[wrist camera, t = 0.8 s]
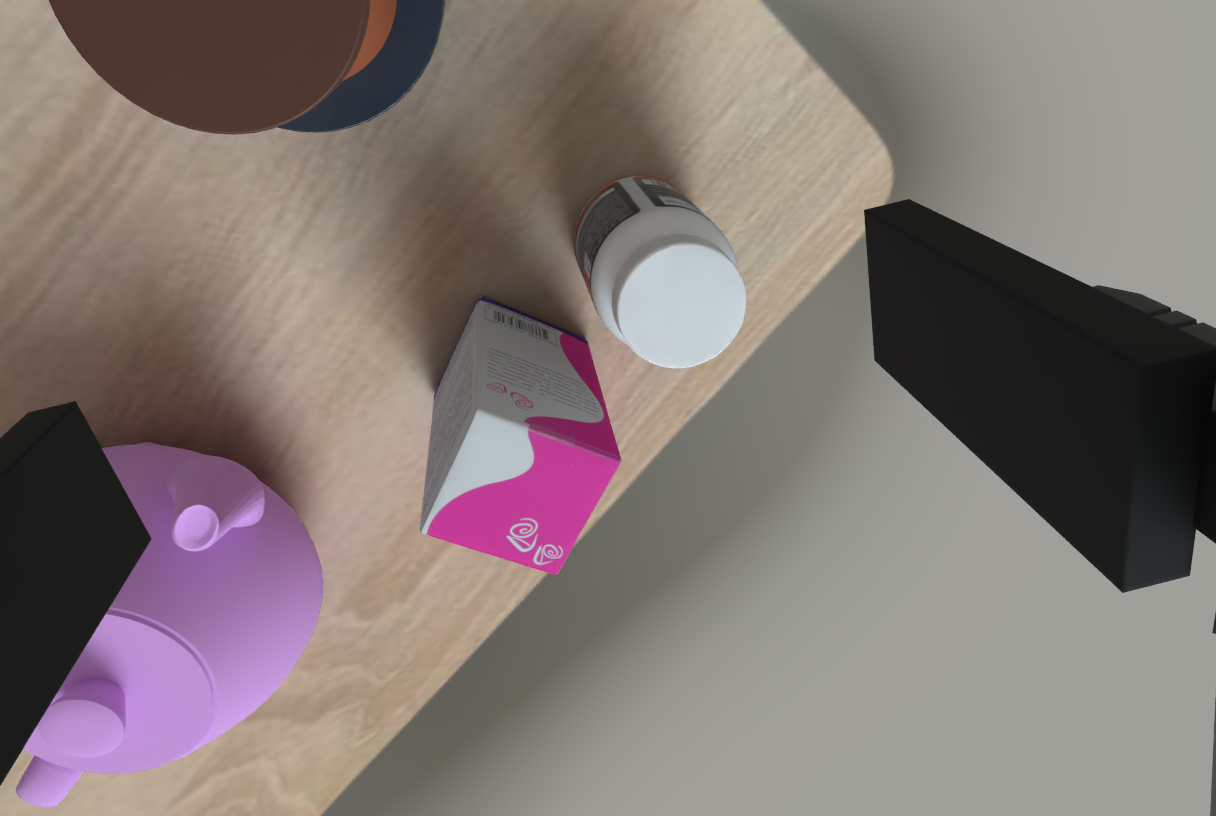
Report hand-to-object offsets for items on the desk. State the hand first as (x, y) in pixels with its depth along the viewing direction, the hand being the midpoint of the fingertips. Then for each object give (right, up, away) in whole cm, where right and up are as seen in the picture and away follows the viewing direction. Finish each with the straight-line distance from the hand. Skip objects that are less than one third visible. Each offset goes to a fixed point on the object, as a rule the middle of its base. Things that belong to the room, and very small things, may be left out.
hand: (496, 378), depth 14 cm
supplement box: (-3, +1, +27) cm, 27 cm away
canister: (-8, +13, +13) cm, 20 cm away
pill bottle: (+3, +7, +25) cm, 26 cm away
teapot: (-19, -6, +28) cm, 34 cm away
